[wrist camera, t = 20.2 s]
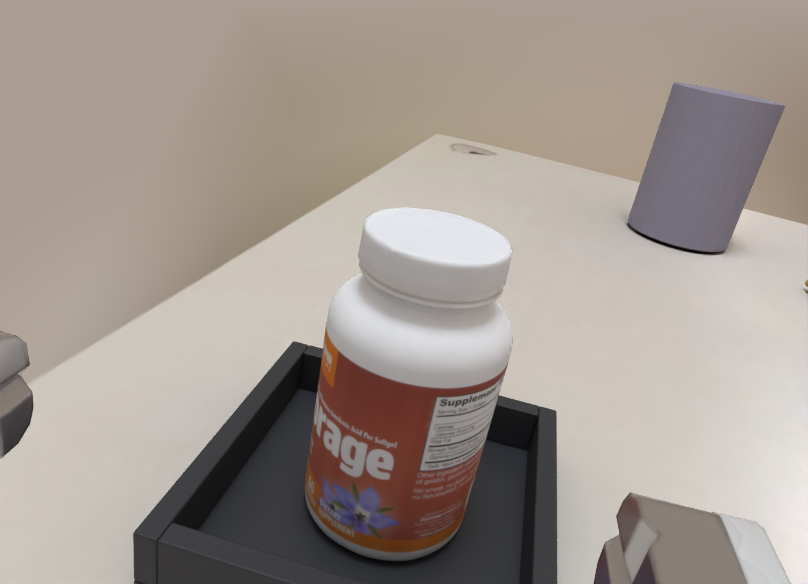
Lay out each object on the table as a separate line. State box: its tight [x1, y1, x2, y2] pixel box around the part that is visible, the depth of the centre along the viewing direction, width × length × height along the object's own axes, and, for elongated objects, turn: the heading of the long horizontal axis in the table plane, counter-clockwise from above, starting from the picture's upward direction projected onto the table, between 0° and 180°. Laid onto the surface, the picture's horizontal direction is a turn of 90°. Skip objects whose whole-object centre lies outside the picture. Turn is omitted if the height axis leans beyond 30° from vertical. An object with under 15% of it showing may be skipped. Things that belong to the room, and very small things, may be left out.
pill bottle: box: [305, 208, 513, 561], centre depth 22 cm, size 6×6×11 cm
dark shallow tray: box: [133, 342, 557, 584], centre depth 24 cm, size 13×13×3 cm
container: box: [628, 83, 785, 253], centre depth 64 cm, size 10×10×15 cm
